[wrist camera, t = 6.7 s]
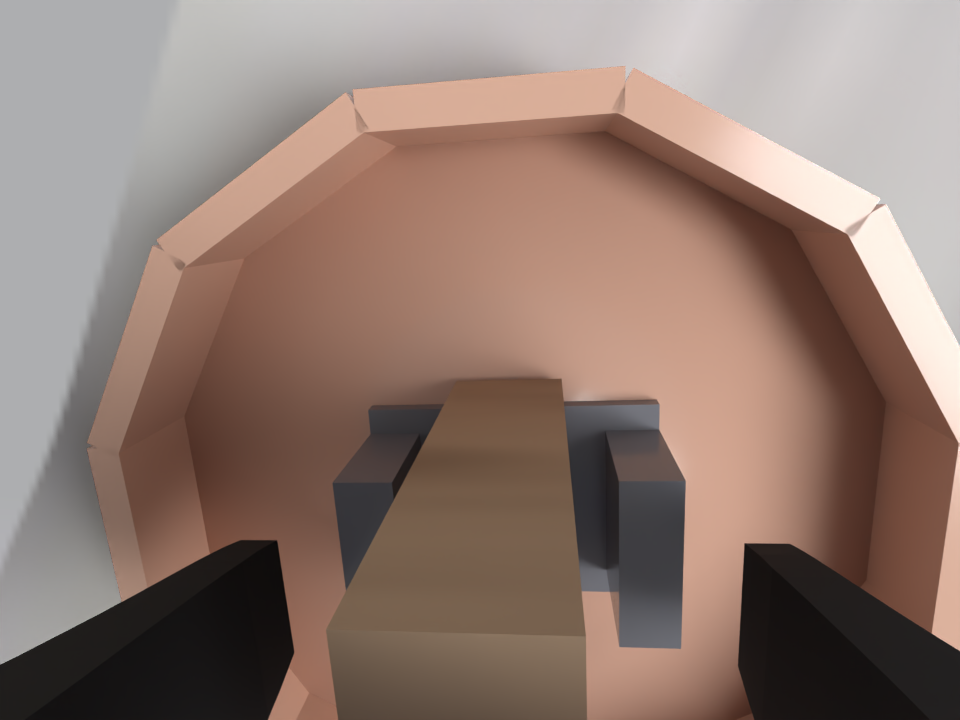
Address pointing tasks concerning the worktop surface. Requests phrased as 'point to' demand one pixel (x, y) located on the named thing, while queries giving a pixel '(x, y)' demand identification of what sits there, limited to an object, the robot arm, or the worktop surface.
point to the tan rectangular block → (472, 573)
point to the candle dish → (544, 366)
